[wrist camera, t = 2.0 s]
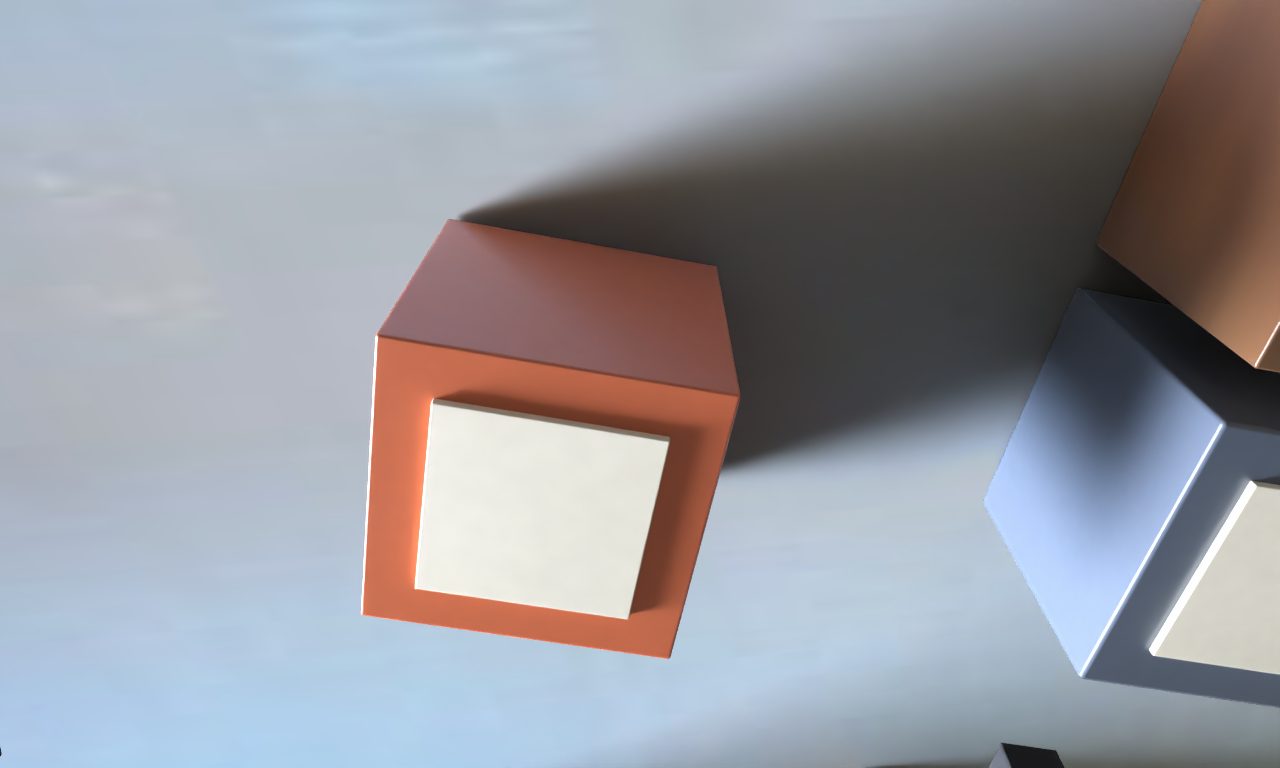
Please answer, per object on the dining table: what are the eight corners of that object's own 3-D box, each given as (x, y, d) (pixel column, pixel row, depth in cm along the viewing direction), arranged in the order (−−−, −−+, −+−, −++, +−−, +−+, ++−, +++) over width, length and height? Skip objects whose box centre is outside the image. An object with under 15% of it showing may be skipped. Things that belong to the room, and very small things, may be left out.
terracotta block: (447, 217, 20) (372, 338, 14) (717, 265, 20) (743, 399, 15) (427, 448, 23) (358, 621, 17) (665, 485, 23) (670, 666, 18)
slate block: (1075, 286, 20) (1229, 426, 15) (1322, 331, 21) (1559, 482, 16) (980, 502, 23) (1082, 686, 18) (1201, 537, 24) (1364, 726, 18)
